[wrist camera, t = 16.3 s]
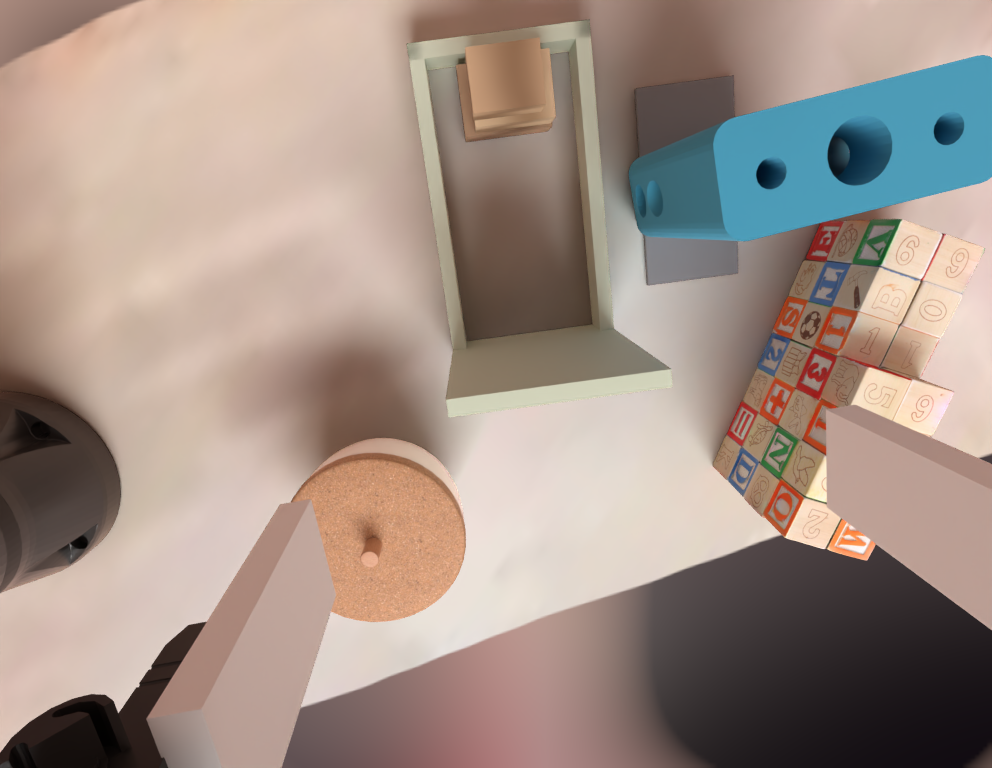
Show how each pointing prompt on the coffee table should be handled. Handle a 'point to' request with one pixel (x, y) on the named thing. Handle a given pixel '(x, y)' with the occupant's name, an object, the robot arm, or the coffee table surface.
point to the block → (822, 157)
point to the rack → (598, 347)
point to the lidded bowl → (387, 528)
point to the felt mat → (665, 122)
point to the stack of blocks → (844, 366)
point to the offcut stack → (506, 90)
